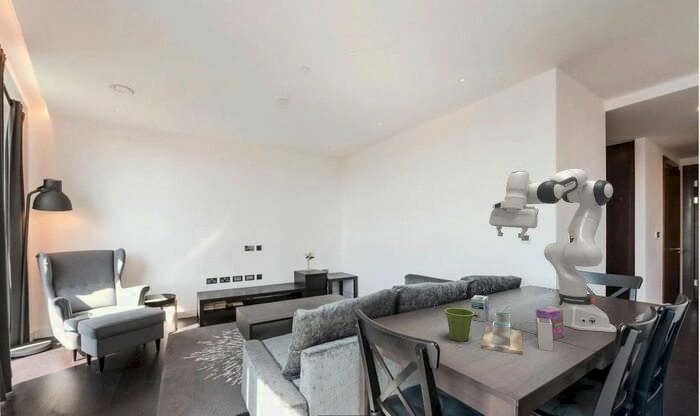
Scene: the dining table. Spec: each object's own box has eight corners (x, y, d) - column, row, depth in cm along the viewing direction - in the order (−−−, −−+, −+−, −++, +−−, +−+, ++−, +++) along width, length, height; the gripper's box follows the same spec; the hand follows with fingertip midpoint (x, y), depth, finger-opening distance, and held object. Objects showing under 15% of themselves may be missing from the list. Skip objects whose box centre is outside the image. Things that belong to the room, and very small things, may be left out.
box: (550, 341, 129) (549, 311, 130) (536, 337, 134) (535, 308, 135) (564, 337, 134) (563, 308, 134) (550, 333, 139) (549, 305, 139)
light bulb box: (485, 322, 155) (485, 299, 156) (471, 320, 159) (470, 298, 159) (489, 317, 164) (488, 296, 165) (475, 315, 168) (475, 294, 168)
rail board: (521, 333, 138) (520, 313, 138) (522, 354, 115) (521, 329, 115) (486, 328, 144) (486, 309, 145) (481, 348, 121) (480, 324, 122)
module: (551, 344, 125) (550, 318, 125) (553, 351, 119) (551, 323, 119) (537, 343, 127) (537, 317, 128) (539, 348, 121) (538, 321, 121)
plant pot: (458, 345, 124) (458, 316, 125) (439, 336, 135) (438, 309, 135) (481, 341, 129) (480, 313, 129) (460, 332, 139) (459, 306, 140)
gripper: (542, 208, 132) (538, 240, 130) (497, 208, 149) (493, 236, 147) (534, 204, 128) (530, 237, 127) (489, 204, 146) (485, 233, 144)
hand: (510, 237), depth 137 cm, fingers open, 8 cm apart
